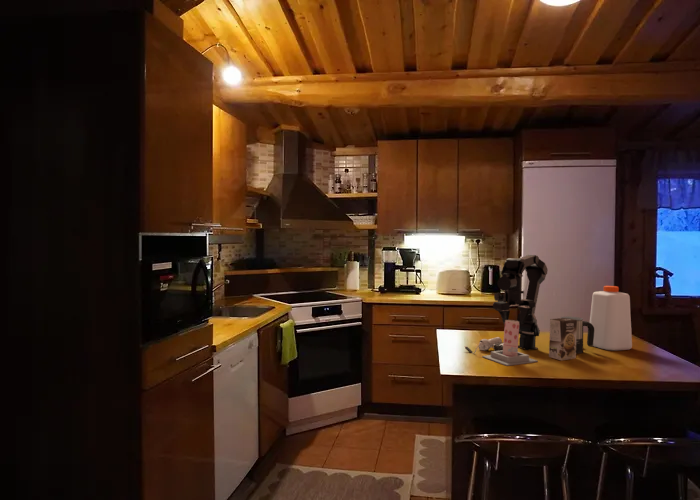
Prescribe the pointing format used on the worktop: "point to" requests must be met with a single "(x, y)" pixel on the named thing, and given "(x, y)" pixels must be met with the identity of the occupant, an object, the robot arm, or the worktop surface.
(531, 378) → the worktop surface
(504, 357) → the grey plate with frame
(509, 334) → the beverage can
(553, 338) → the coffee box
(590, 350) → the worktop surface
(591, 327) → the milk frother
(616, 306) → the plastic bottle
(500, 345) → the clip-on lamp
